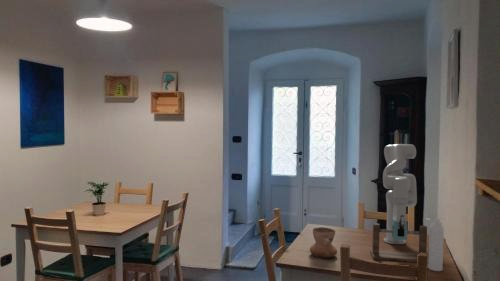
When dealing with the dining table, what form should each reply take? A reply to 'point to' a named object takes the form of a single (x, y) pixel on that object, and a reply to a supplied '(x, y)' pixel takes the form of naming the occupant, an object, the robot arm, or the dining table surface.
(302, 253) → the dining table surface
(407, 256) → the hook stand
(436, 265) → the water bottle
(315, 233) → the ceramic jug
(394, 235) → the saddle hanger
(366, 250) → the dining table surface
